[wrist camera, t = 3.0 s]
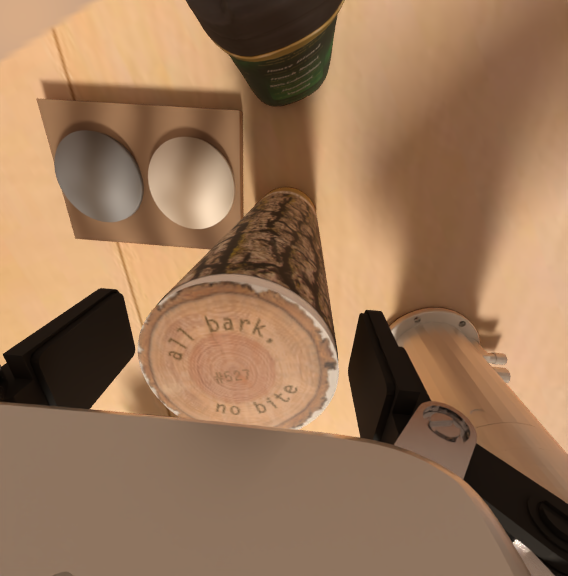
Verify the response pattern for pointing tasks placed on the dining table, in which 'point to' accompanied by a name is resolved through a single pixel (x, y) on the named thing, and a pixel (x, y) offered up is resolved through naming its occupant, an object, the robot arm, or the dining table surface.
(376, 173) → the dining table surface
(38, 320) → the dining table surface
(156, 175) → the board
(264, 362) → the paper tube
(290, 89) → the coffee jar
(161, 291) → the dining table surface
